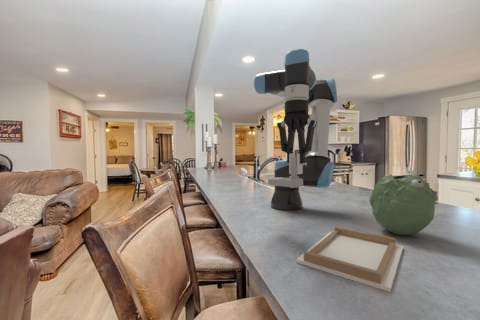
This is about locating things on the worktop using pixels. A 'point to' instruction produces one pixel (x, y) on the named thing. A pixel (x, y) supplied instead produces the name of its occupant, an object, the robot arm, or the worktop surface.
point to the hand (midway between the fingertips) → (295, 173)
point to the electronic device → (288, 182)
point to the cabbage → (403, 203)
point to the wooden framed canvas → (356, 257)
